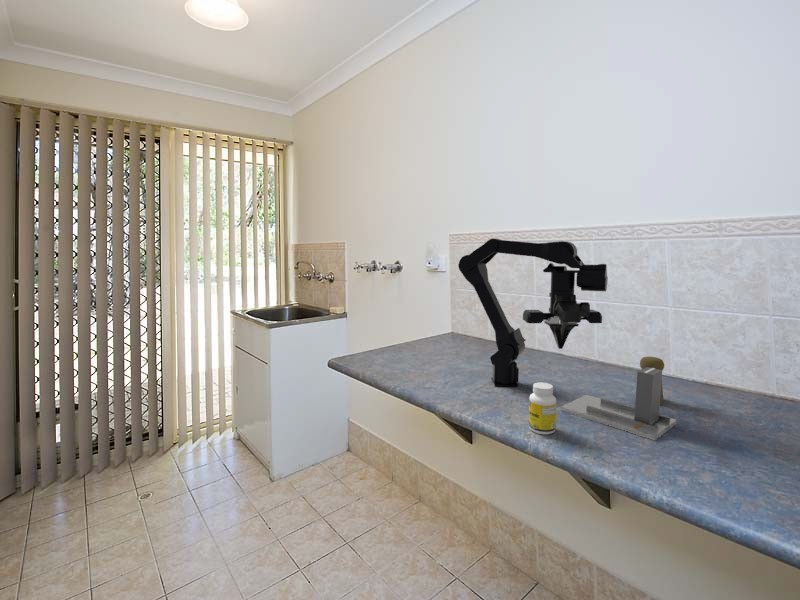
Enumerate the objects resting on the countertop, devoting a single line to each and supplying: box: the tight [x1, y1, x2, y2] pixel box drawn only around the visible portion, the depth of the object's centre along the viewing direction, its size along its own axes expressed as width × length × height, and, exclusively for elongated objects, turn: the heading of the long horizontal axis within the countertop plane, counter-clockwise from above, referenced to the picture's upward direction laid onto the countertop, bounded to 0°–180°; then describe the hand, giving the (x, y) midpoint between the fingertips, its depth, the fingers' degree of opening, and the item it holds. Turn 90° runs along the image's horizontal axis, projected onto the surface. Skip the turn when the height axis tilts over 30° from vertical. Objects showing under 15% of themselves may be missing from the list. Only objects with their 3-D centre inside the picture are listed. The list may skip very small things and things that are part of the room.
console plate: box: [560, 394, 677, 441], centre depth 92 cm, size 20×12×2 cm, turn 39°
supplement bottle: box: [528, 381, 557, 435], centre depth 85 cm, size 5×5×10 cm
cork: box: [639, 356, 665, 405], centre depth 101 cm, size 6×6×11 cm
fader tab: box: [634, 367, 663, 424], centre depth 86 cm, size 3×5×11 cm, turn 129°
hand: (560, 348), depth 107 cm, fingers closed
